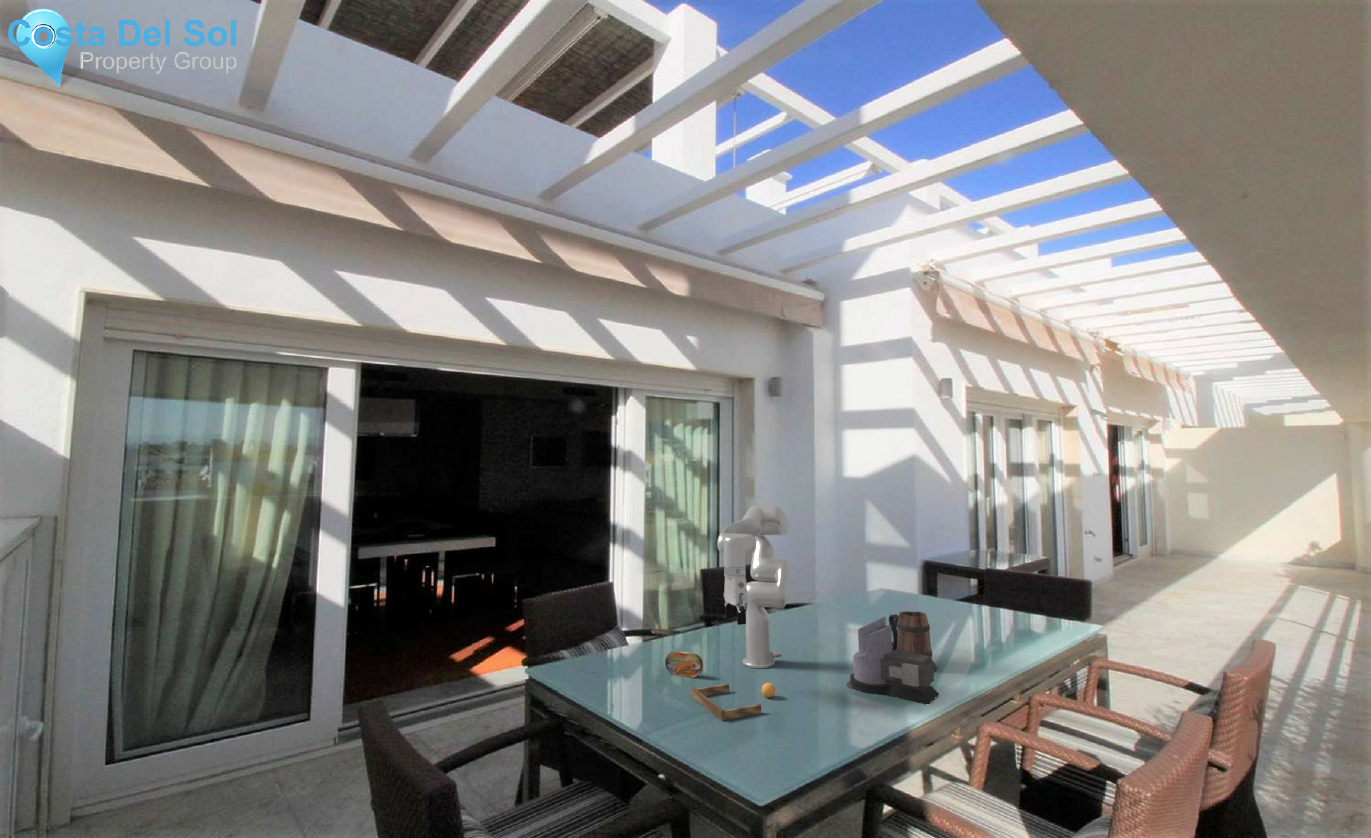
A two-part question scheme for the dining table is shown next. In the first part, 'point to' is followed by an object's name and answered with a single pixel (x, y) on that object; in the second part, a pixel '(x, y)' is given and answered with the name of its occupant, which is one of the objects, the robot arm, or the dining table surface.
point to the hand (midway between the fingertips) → (735, 621)
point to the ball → (768, 690)
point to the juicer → (890, 667)
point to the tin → (684, 664)
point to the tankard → (911, 633)
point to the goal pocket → (716, 710)
